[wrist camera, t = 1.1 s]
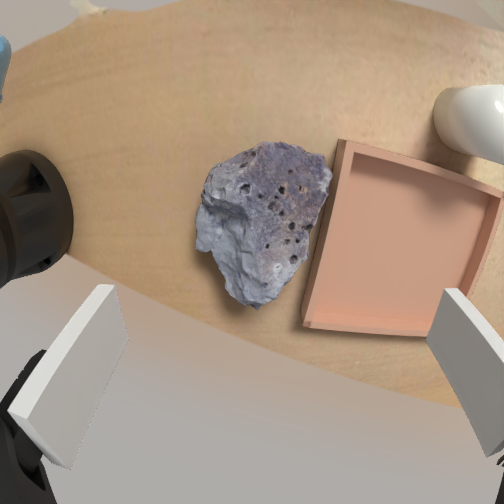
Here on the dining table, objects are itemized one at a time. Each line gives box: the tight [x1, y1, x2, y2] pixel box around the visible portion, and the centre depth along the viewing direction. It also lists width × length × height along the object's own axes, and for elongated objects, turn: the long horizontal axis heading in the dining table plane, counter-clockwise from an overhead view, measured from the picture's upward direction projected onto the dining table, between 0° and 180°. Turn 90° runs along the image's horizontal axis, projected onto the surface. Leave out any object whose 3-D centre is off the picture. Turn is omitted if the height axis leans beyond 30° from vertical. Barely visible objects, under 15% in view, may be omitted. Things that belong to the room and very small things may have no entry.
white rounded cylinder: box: [433, 84, 504, 165], centre depth 20 cm, size 7×7×8 cm
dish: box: [300, 139, 504, 337], centre depth 29 cm, size 20×19×3 cm
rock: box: [195, 142, 333, 311], centre depth 26 cm, size 14×10×10 cm
